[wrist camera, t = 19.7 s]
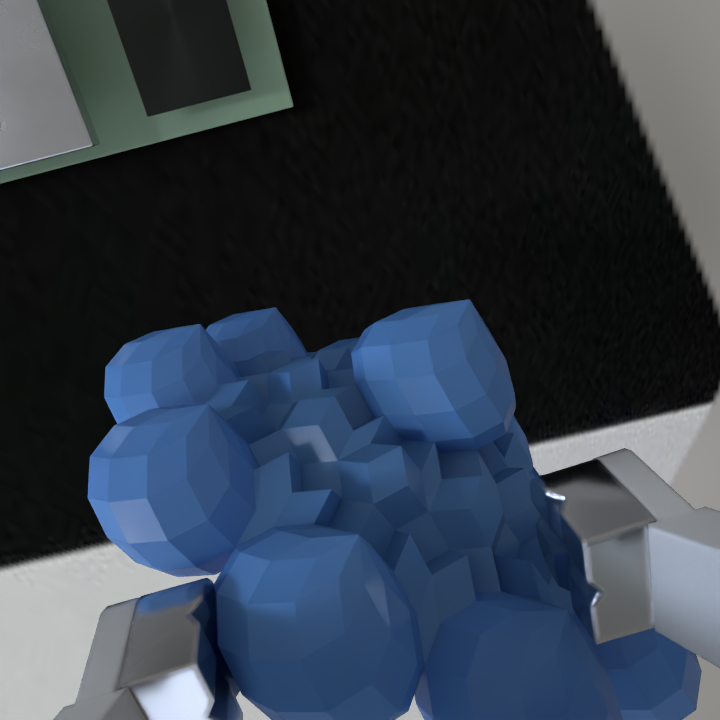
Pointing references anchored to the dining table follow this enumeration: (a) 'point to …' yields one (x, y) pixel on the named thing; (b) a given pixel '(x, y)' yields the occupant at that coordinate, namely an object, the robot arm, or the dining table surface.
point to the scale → (120, 93)
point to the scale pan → (146, 59)
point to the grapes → (362, 523)
